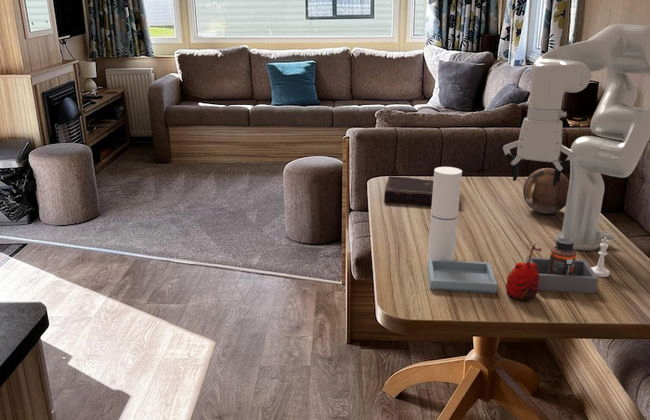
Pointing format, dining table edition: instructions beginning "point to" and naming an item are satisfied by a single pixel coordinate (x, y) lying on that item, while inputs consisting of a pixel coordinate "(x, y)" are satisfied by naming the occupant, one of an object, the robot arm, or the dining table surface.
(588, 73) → the robot arm
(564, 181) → the reflective sphere
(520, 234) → the dining table surface
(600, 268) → the chess piece
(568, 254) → the supplement bottle
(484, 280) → the tray
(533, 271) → the red clay folk toy
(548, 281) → the dock
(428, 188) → the diary
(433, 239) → the cylindrical container
